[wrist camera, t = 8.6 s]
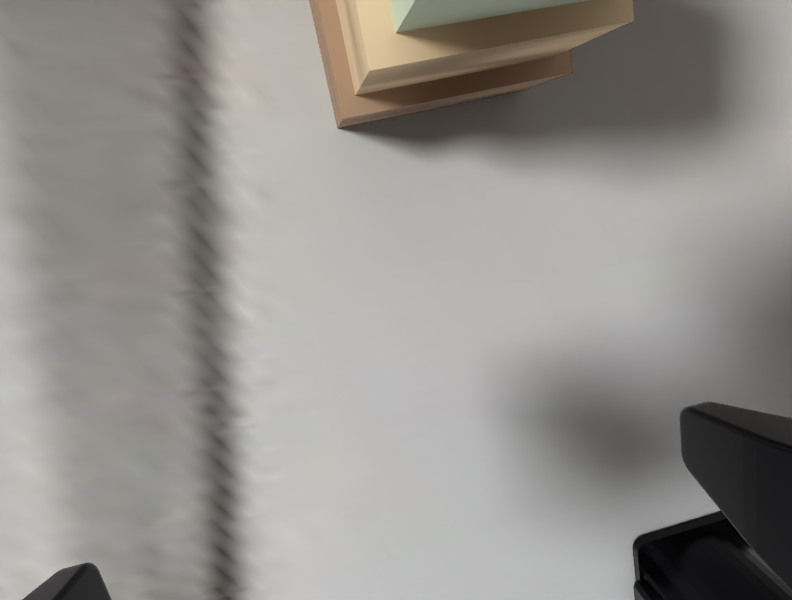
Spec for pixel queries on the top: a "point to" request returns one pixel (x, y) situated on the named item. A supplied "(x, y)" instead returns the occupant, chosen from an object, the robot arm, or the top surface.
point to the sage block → (459, 11)
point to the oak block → (465, 40)
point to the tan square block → (417, 95)
